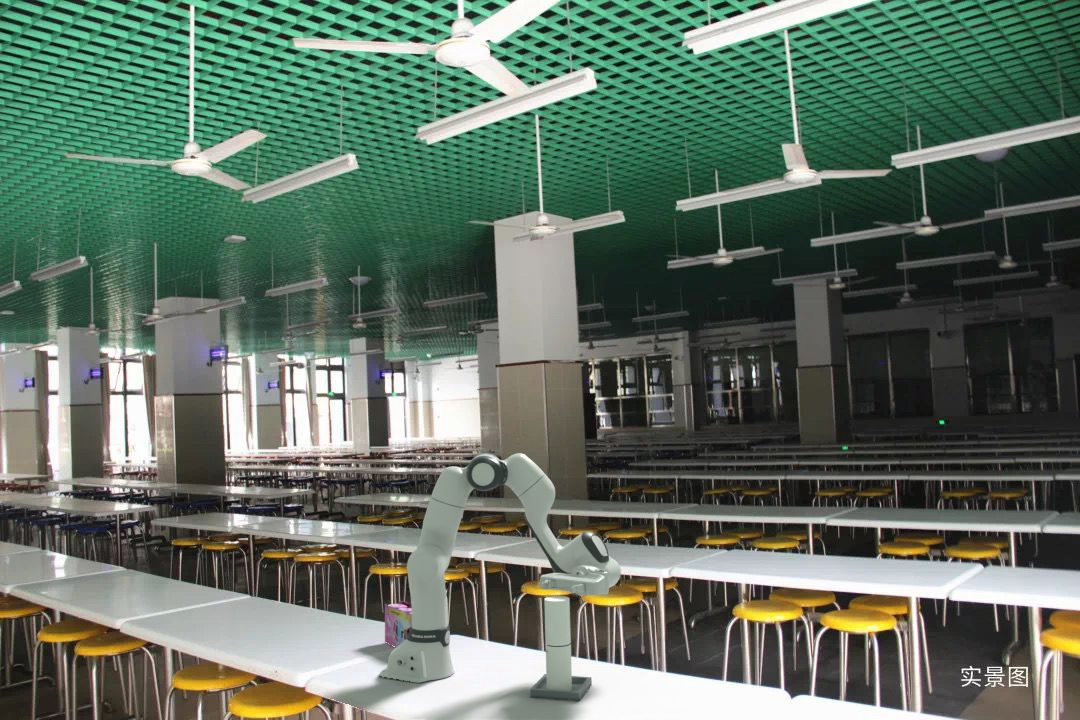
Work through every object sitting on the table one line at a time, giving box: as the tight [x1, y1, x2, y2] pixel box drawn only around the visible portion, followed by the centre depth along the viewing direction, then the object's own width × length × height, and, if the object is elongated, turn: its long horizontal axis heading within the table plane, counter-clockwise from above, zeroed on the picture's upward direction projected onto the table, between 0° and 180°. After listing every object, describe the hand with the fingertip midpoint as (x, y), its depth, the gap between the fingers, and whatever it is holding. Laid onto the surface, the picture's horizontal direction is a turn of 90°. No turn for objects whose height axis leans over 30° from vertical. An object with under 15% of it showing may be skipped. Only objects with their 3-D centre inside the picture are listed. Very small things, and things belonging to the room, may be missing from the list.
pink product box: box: [384, 600, 412, 648], centre depth 280 cm, size 24×8×14 cm, turn 37°
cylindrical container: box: [543, 595, 573, 691], centre depth 230 cm, size 7×7×25 cm
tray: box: [529, 673, 593, 702], centre depth 229 cm, size 14×14×2 cm
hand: (556, 588), depth 231 cm, fingers open, 8 cm apart
